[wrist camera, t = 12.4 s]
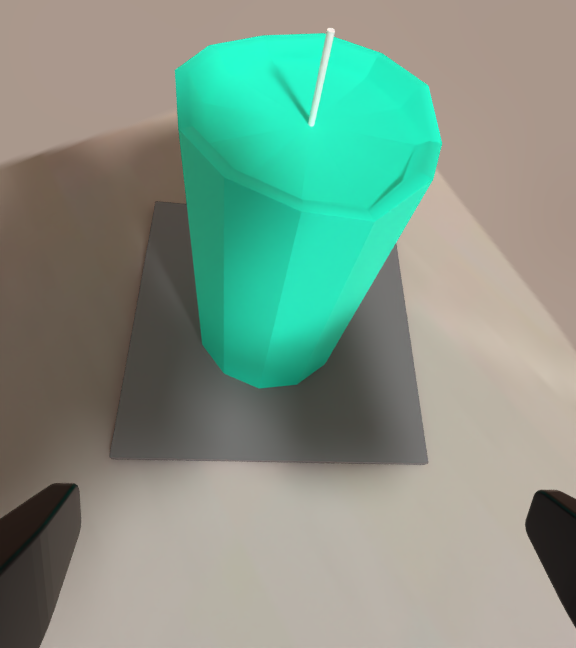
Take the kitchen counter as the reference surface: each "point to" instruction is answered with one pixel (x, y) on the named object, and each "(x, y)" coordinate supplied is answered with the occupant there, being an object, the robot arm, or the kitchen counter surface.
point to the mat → (262, 403)
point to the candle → (295, 191)
